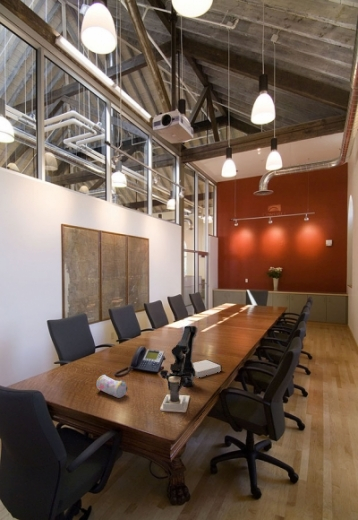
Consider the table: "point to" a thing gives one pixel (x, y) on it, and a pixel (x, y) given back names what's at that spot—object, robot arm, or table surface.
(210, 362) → the disc drive
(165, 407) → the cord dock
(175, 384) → the disc
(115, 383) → the pencil case
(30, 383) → the table surface
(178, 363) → the robot arm
